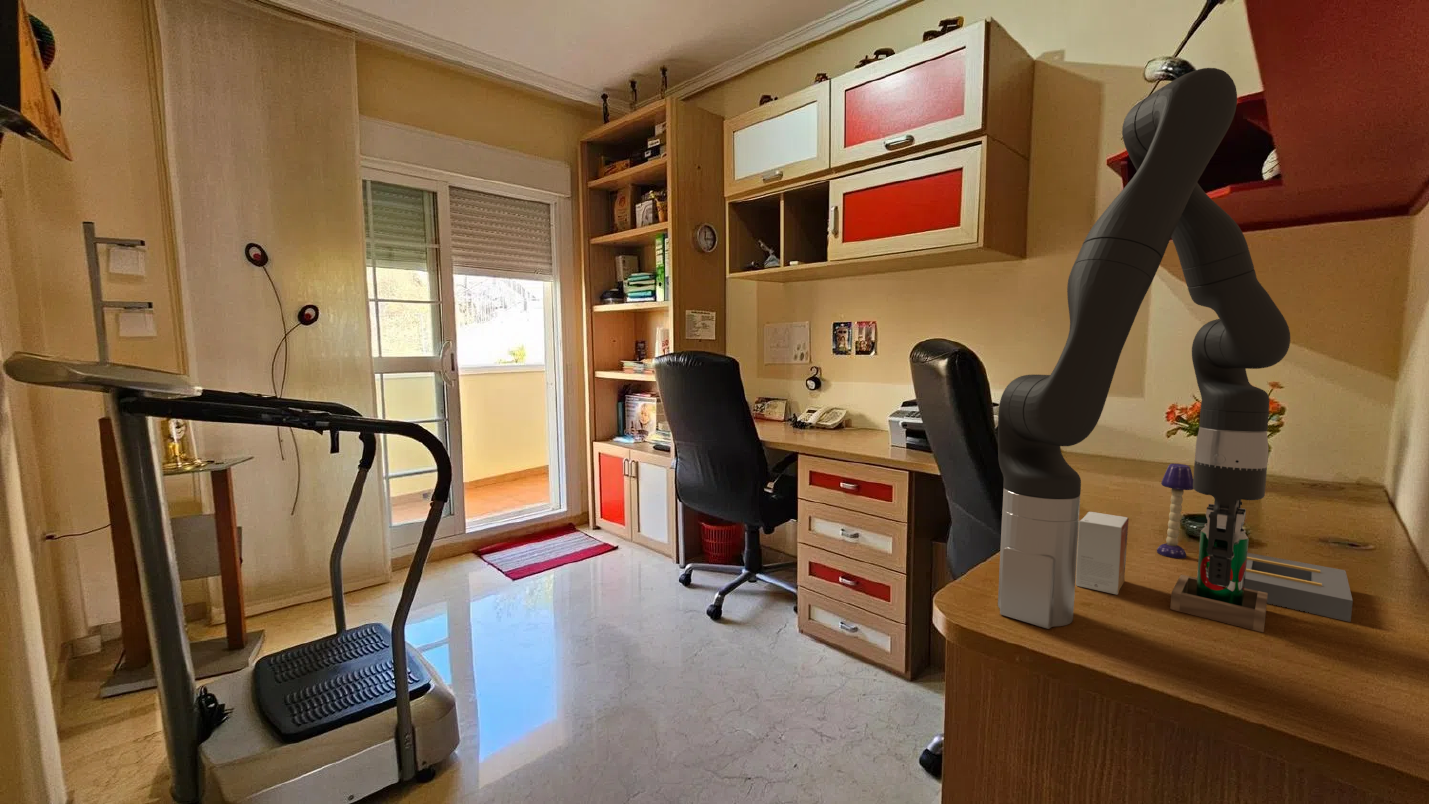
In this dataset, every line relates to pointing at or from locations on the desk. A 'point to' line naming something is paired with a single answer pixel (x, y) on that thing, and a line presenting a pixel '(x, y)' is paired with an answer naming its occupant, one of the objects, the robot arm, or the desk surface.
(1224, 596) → the soda can
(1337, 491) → the desk surface
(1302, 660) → the desk surface
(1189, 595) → the wooden square frame
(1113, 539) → the small box
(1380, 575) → the desk surface
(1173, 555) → the toy lamp
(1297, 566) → the socket
